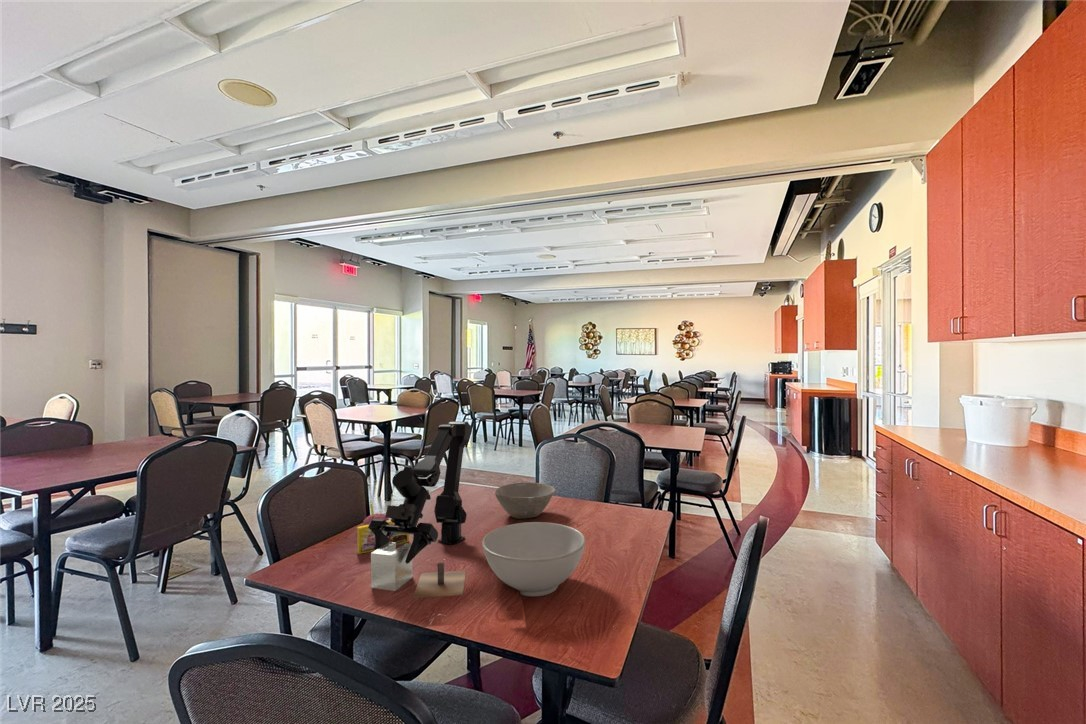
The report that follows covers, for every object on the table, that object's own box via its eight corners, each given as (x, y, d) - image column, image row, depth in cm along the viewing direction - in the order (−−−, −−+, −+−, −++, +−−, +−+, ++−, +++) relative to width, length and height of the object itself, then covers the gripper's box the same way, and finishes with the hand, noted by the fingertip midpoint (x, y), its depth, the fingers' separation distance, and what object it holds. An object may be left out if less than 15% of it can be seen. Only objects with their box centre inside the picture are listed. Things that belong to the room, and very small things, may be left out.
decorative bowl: (510, 558, 141) (509, 517, 141) (597, 571, 131) (597, 527, 131) (462, 600, 116) (462, 551, 116) (567, 620, 106) (566, 566, 106)
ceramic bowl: (487, 512, 186) (487, 486, 186) (540, 504, 196) (540, 479, 196) (507, 529, 166) (506, 500, 166) (565, 519, 176) (565, 492, 176)
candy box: (359, 555, 145) (358, 528, 145) (356, 553, 147) (356, 526, 147) (409, 542, 155) (409, 517, 156) (407, 540, 157) (406, 515, 157)
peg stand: (421, 577, 129) (421, 554, 129) (465, 574, 130) (465, 552, 130) (412, 603, 115) (412, 577, 115) (462, 599, 116) (462, 574, 116)
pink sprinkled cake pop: (372, 541, 157) (371, 505, 157) (357, 536, 162) (357, 500, 162) (394, 533, 163) (393, 499, 164) (379, 529, 169) (379, 495, 169)
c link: (389, 578, 129) (389, 541, 129) (412, 581, 127) (412, 544, 127) (371, 592, 121) (370, 553, 121) (395, 595, 119) (394, 555, 119)
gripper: (371, 489, 131) (345, 544, 120) (432, 493, 126) (410, 551, 115) (388, 509, 139) (365, 562, 128) (446, 514, 134) (427, 569, 123)
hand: (390, 561), depth 123 cm, fingers open, 9 cm apart
